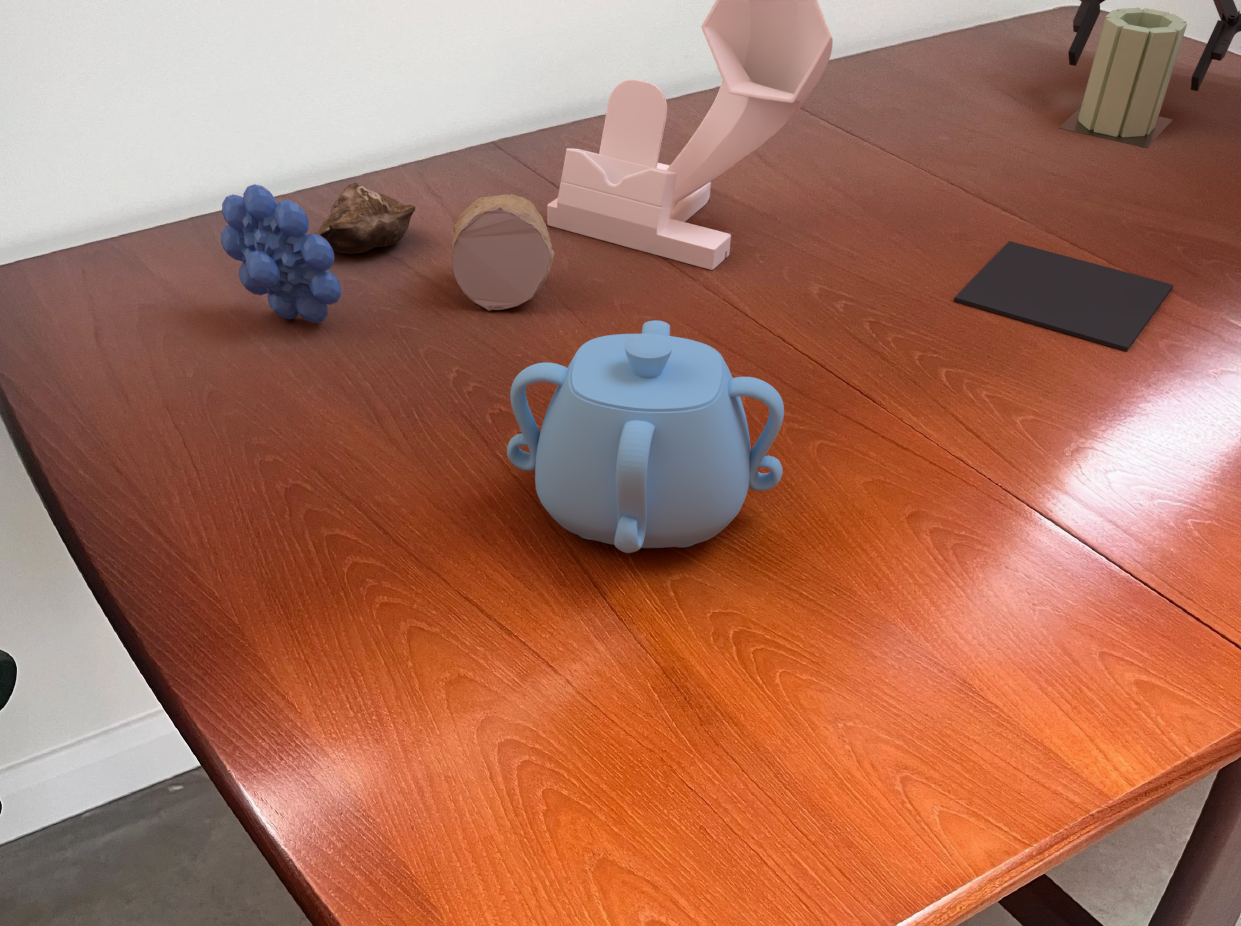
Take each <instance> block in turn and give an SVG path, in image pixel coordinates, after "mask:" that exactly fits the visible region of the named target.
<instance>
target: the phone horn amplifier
mask: <svg viewBox="0 0 1241 926" xmlns="http://www.w3.org/2000/svg"><path fill="white" fill-rule="evenodd" d="M700 28H701V30H702V33H703V35H704V38H705V40H706V42H707V45H708V47H709V49H710V52H711V54H712V57H713V60H714V61H715V64H716V67H717V69H718V72H719V75H720V77H721V84H720V87H719V89H718V92H717V95H716V97H715V99H714V101H713V102H712V105H711V107H710V108H709V109H708V111H707V113H706V115H705V116H704V118H703V120H702V121H701V123H700V124H699V125H698V127H697V128H696V130H695V131H694V133H693V134H692V136H691V138H690V139H689V140H688V142H687V143H686V144H685V145H684V146H683V148H682V150H680V152H679V153H678V155H677V156H676V157H675V159H674V160H673V161H672V163H670V164H665V163H661V162H659V158H660V152H661V148H662V142H663V136H664V132H665V127H666V123H667V118H668V101H667V99H666V95H665V94H664V93H663V91H662V89H661V88H660V87H659V86H657V85H656V84H655V83H652V82H649V81H643V80H639V79H634V78H633V79H627V80H623V81H621V82H619V83H618V84H617V85H616V86H615V87H614V89H613V90H612V92H611V93H610V96H609V98H608V102H607V108H606V112H605V117H604V124H603V130H602V135H601V142H600V147H599V153H597V152H592V151H588V150H585V149H580V148H566V150H565V156H564V161H563V165H562V166H563V167H562V174H561V179H560V183H559V189H558V195H557V197H556V198H555V199H553V200H552V201H550V202H549V203H548V204H547V205H546V206H547V207H546V209H547V210H546V213H547V214H546V216H547V218H546V220H547V223H546V225H547V226H549V227H552V228H556V229H560V230H563V231H567V232H571V233H575V234H579V235H582V236H585V237H590V238H592V239H593V238H594V239H597V240H600V241H603V242H608V243H611V244H614V245H619V246H622V247H626V248H629V249H633V250H637V251H641V252H644V253H647V254H651V255H654V256H659V257H662V258H666V259H670V260H674V261H677V262H681V263H685V264H688V265H692V266H695V267H699V268H703V269H706V270H710V271H714V270H715V269H716V268H717V267H718V266H719V265H721V264H722V263H723V262H724V261H725V259H727V258H728V257H729V256H730V252H731V240H732V234H731V233H729V232H724V231H720V230H717V229H712V228H709V227H704V226H701V225H697V224H693V223H689V222H687V221H688V220H689V219H690V218H691V217H693V216H694V215H695V214H697V212H698V211H700V210H701V209H702V208H703V207H704V206H706V205H707V204H708V201H709V200H710V199H711V186H712V182H713V181H714V180H715V179H717V178H719V177H720V176H721V175H723V174H724V173H725V172H727V171H729V170H730V169H732V167H734V166H735V165H737V164H738V163H739V162H740V161H742V160H743V159H745V158H746V157H747V156H748V155H750V154H752V153H753V152H755V151H756V150H758V149H759V148H760V147H761V146H762V145H764V144H765V143H766V142H767V141H768V140H770V139H771V138H773V136H775V135H776V134H777V133H778V132H780V131H781V130H782V129H783V127H784V126H785V125H786V124H787V123H789V121H790V120H791V119H792V118H793V117H794V115H796V113H797V112H798V111H799V110H800V108H802V106H803V105H804V104H805V102H806V101H807V100H808V99H809V97H810V96H811V94H812V92H814V90H815V88H816V86H817V85H818V83H819V82H820V80H821V78H822V77H823V74H824V73H825V72H826V68H827V66H828V64H829V61H830V59H831V55H832V50H833V44H834V43H833V41H834V40H833V36H832V33H831V31H830V28H829V26H828V23H827V21H826V18H825V16H824V13H823V10H822V8H821V5H820V3H819V0H715V1H714V3H713V5H712V6H711V8H710V10H709V11H708V13H707V15H706V17H705V18H704V20H703V22H702V24H701V25H700Z"/></svg>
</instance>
